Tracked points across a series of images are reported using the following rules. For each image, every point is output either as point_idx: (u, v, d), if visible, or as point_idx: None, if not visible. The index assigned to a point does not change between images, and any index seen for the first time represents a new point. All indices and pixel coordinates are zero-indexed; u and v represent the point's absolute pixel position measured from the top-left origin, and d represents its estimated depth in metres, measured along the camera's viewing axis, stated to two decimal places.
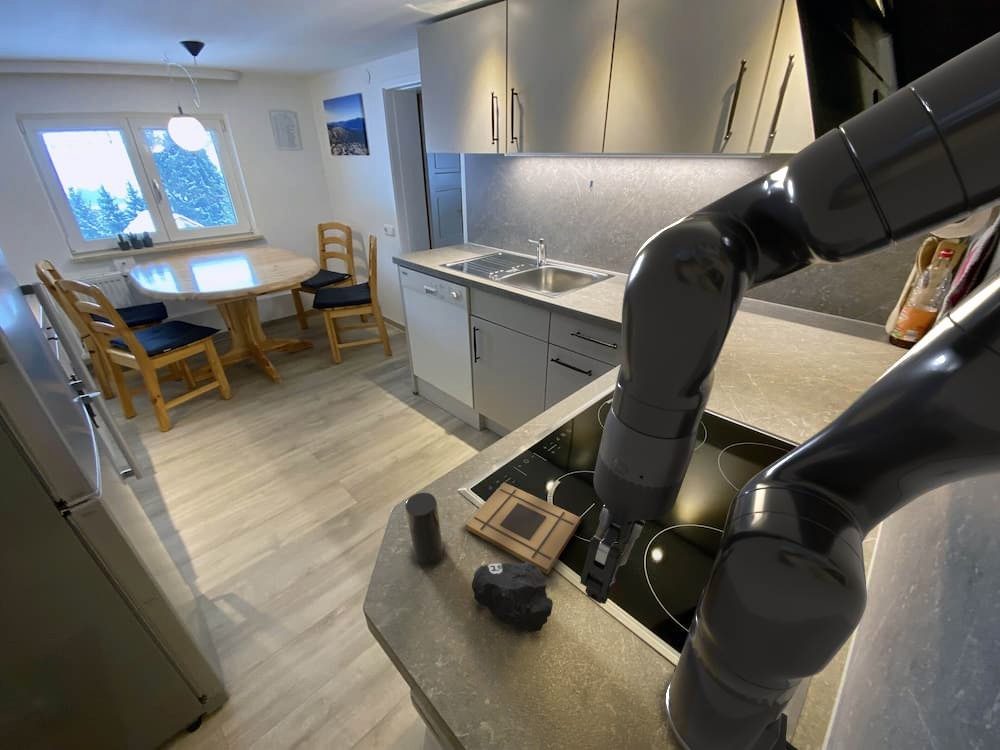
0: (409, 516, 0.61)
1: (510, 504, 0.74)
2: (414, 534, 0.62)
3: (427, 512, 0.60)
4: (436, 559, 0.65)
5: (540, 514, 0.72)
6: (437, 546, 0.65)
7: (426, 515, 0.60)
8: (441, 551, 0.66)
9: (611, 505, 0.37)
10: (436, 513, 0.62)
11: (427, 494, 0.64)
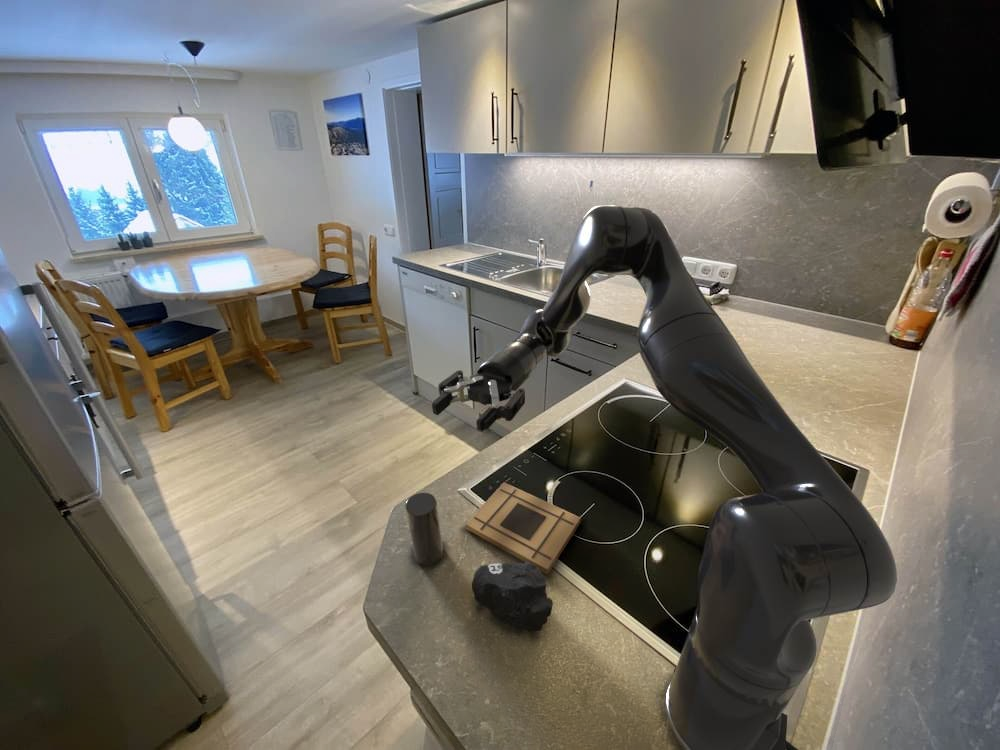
0: (409, 516, 0.61)
1: (510, 504, 0.74)
2: (414, 534, 0.62)
3: (427, 512, 0.60)
4: (436, 559, 0.65)
5: (540, 514, 0.72)
6: (437, 546, 0.65)
7: (426, 515, 0.60)
8: (441, 551, 0.66)
9: None
10: (436, 513, 0.62)
11: (427, 494, 0.64)
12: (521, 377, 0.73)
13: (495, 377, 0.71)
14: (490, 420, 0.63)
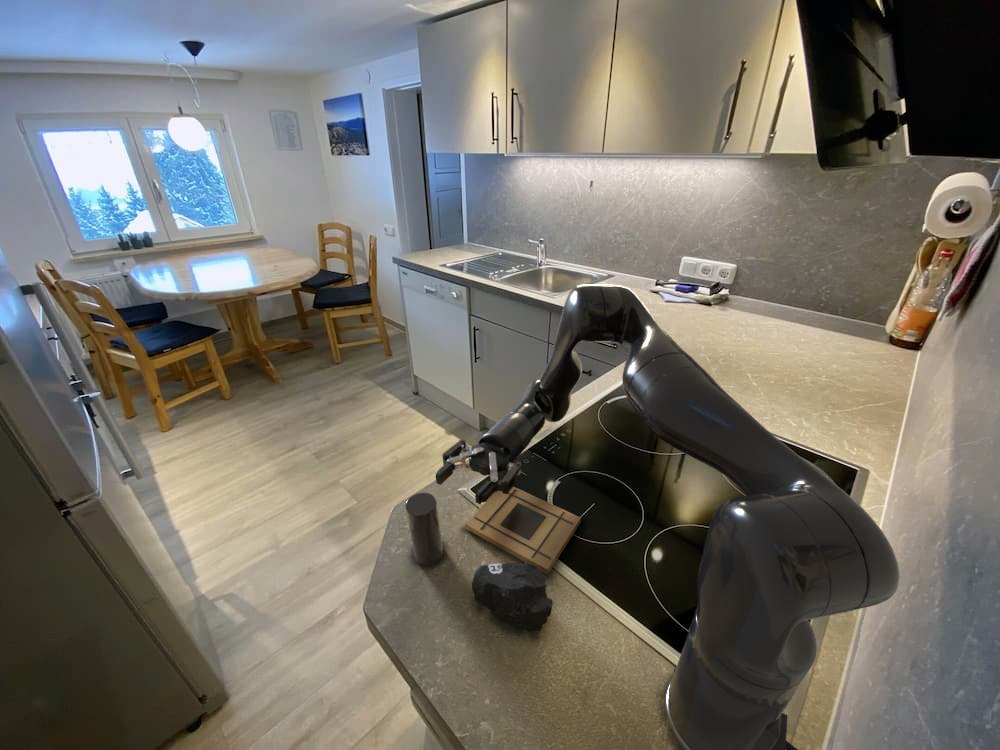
0: (409, 516, 0.61)
1: (510, 504, 0.74)
2: (414, 534, 0.62)
3: (427, 512, 0.60)
4: (436, 559, 0.65)
5: (540, 514, 0.72)
6: (437, 546, 0.65)
7: (426, 515, 0.60)
8: (441, 551, 0.66)
9: None
10: (436, 513, 0.62)
11: (427, 494, 0.64)
12: (519, 449, 0.78)
13: (495, 448, 0.77)
14: (488, 494, 0.68)
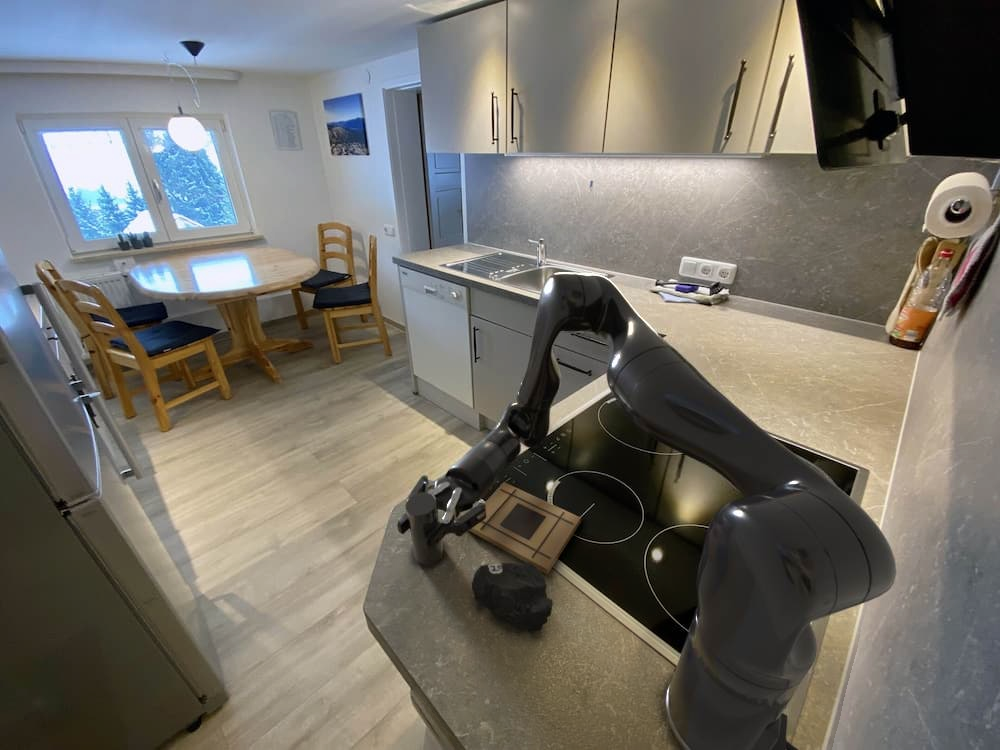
0: (409, 516, 0.61)
1: (510, 504, 0.74)
2: (414, 534, 0.62)
3: (427, 512, 0.60)
4: (436, 559, 0.65)
5: (540, 514, 0.72)
6: (437, 546, 0.65)
7: (425, 515, 0.60)
8: (441, 551, 0.66)
9: None
10: (436, 513, 0.62)
11: (427, 494, 0.64)
12: (489, 482, 0.71)
13: (462, 482, 0.70)
14: (438, 538, 0.61)
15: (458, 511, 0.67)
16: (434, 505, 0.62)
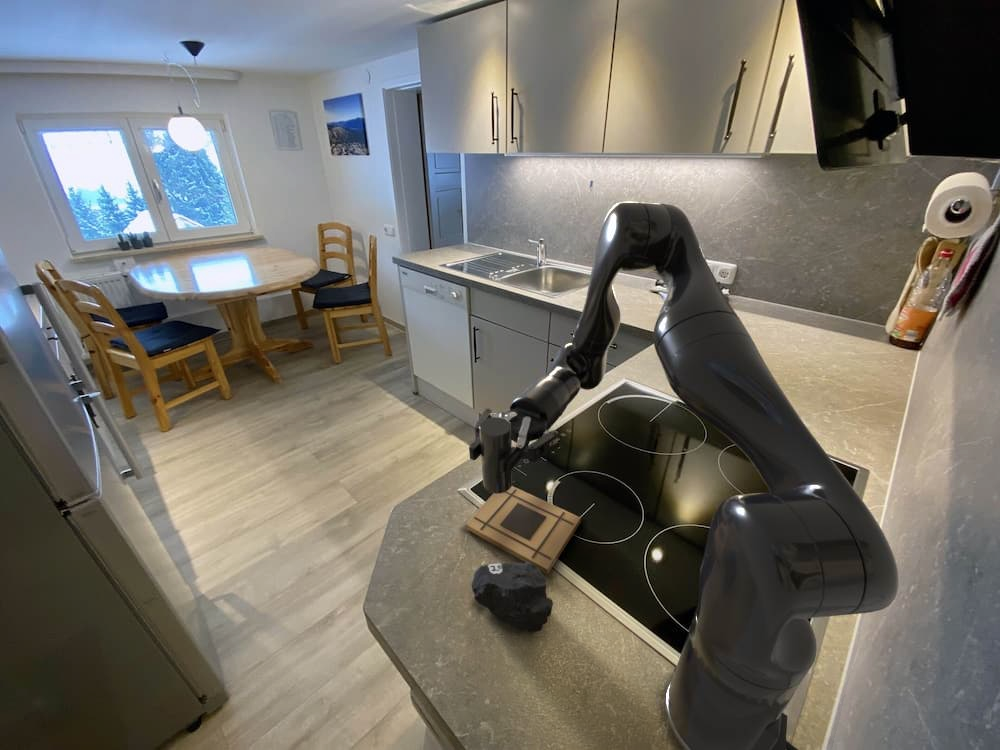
0: (484, 438, 0.59)
1: (510, 504, 0.74)
2: (488, 459, 0.60)
3: (503, 433, 0.58)
4: (507, 487, 0.63)
5: (540, 514, 0.72)
6: (509, 473, 0.62)
7: (502, 436, 0.58)
8: (511, 480, 0.64)
9: None
10: (510, 436, 0.60)
11: (499, 418, 0.61)
12: (556, 414, 0.69)
13: (528, 413, 0.68)
14: (513, 461, 0.59)
15: (528, 439, 0.64)
16: (509, 427, 0.59)
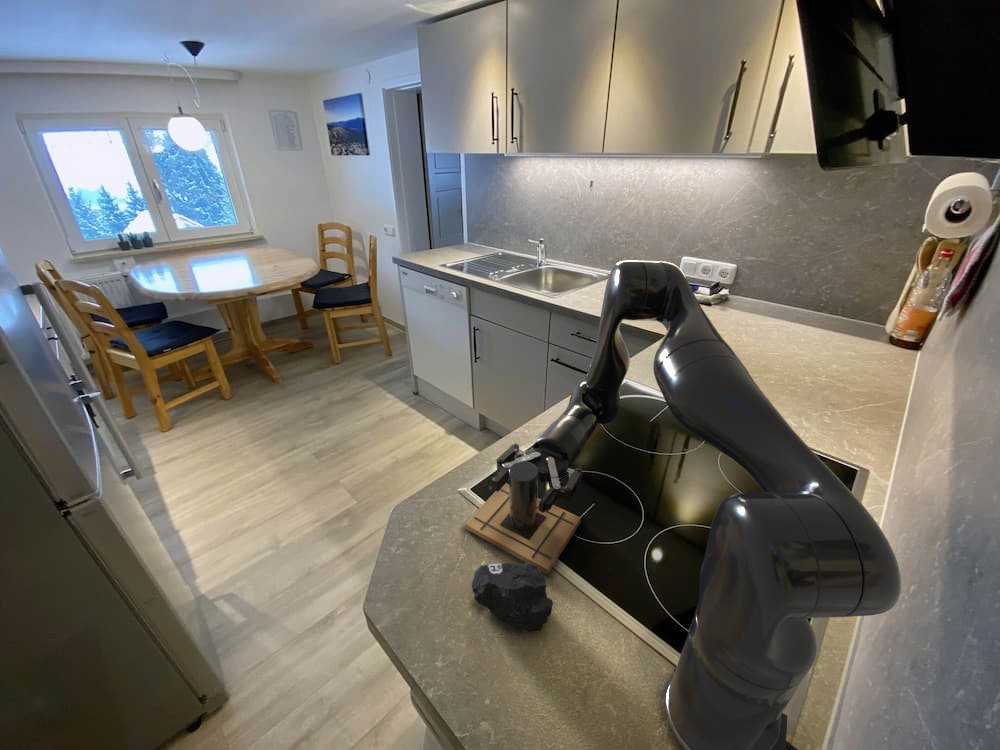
0: (514, 482, 0.65)
1: None
2: (516, 500, 0.66)
3: (531, 478, 0.64)
4: (532, 525, 0.69)
5: (540, 514, 0.72)
6: (535, 512, 0.68)
7: (530, 481, 0.64)
8: (536, 518, 0.70)
9: None
10: (537, 480, 0.66)
11: (527, 463, 0.67)
12: (576, 453, 0.75)
13: (551, 453, 0.74)
14: (552, 502, 0.65)
15: None
16: (536, 472, 0.65)
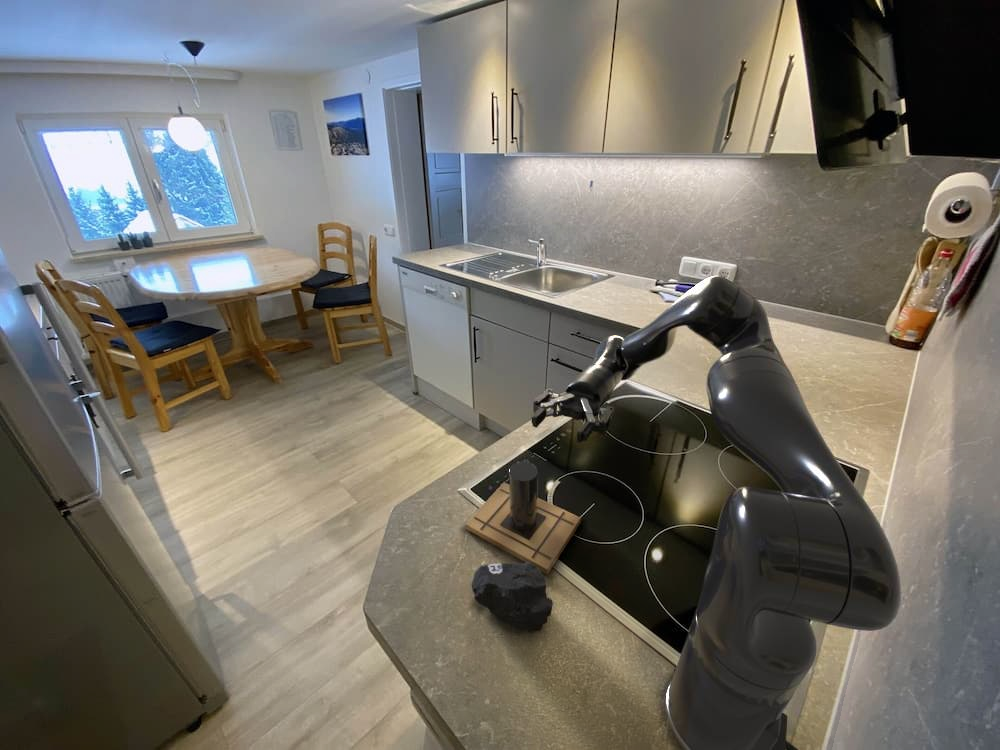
0: (514, 482, 0.65)
1: None
2: (516, 500, 0.66)
3: (531, 478, 0.64)
4: (532, 525, 0.69)
5: (540, 514, 0.72)
6: (535, 512, 0.68)
7: (530, 481, 0.64)
8: (536, 518, 0.70)
9: None
10: (537, 480, 0.66)
11: (527, 463, 0.67)
12: (606, 397, 0.80)
13: (583, 395, 0.79)
14: (588, 433, 0.70)
15: None
16: (536, 472, 0.65)
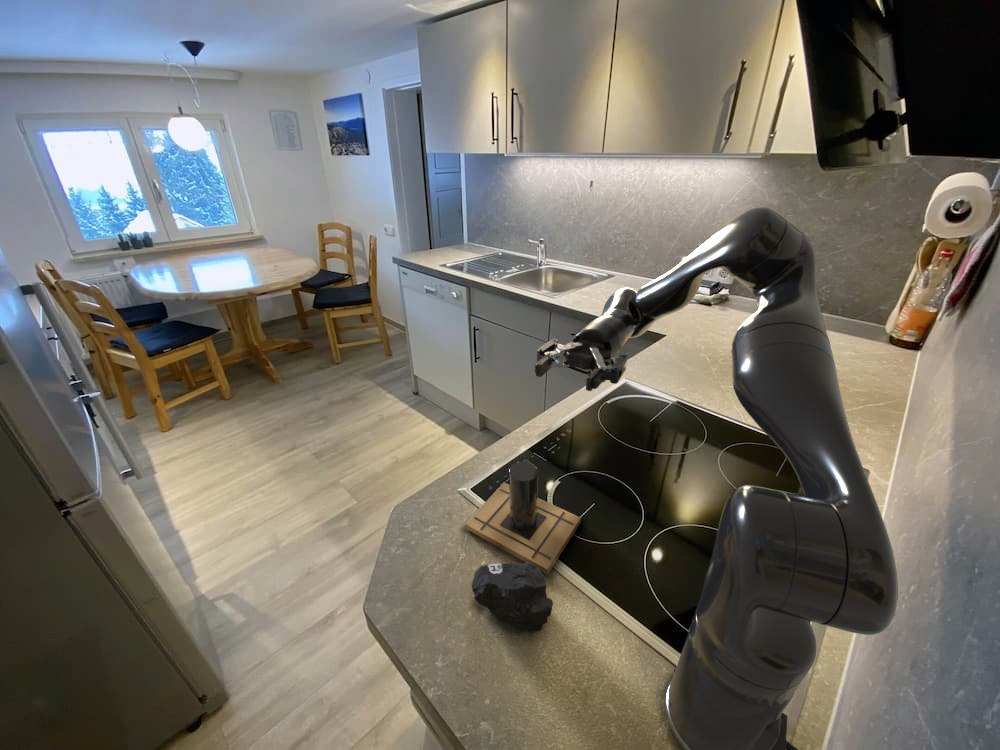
0: (514, 482, 0.65)
1: None
2: (516, 500, 0.66)
3: (531, 478, 0.64)
4: (532, 525, 0.69)
5: (540, 514, 0.72)
6: (535, 512, 0.68)
7: (530, 481, 0.64)
8: (536, 518, 0.70)
9: None
10: (537, 480, 0.66)
11: (527, 463, 0.67)
12: (617, 347, 0.72)
13: (592, 344, 0.71)
14: (599, 380, 0.62)
15: None
16: (536, 472, 0.65)
